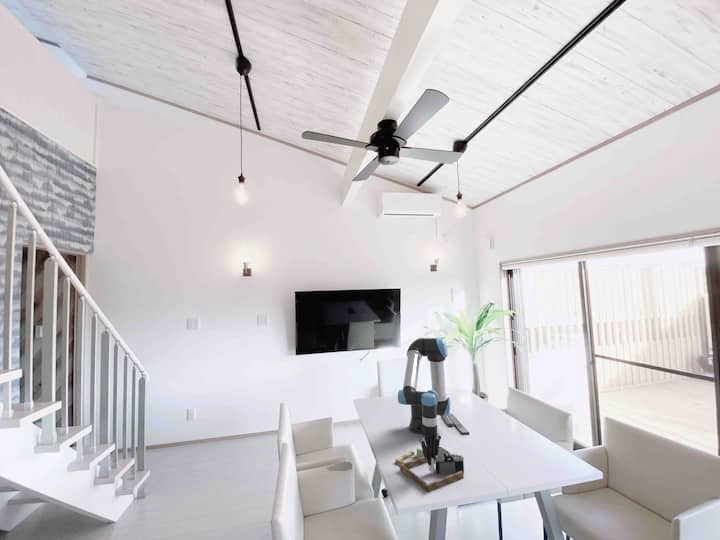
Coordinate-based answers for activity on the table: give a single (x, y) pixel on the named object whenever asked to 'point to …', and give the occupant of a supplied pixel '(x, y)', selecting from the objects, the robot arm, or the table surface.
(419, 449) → the sage cube
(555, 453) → the table surface
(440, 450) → the pad
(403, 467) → the brown wooden u frame
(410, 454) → the crook
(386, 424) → the table surface
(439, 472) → the camera
